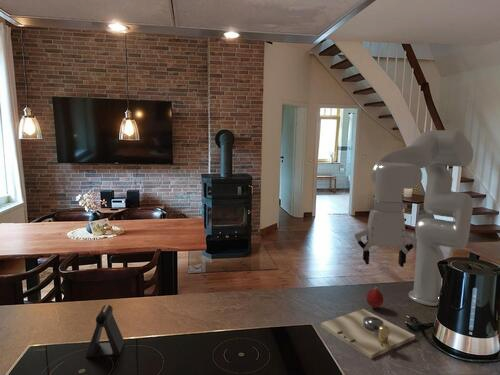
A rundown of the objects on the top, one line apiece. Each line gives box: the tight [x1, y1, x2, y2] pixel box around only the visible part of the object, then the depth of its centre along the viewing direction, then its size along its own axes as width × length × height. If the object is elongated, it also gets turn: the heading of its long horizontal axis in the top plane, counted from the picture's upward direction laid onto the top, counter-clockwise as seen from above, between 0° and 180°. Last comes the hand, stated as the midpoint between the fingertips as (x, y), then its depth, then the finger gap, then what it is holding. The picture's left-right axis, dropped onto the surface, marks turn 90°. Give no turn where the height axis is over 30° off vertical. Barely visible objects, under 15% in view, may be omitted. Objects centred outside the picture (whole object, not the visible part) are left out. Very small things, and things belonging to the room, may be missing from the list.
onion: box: [365, 286, 385, 309], centre depth 127 cm, size 6×6×8 cm
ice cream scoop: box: [363, 317, 389, 348], centre depth 106 cm, size 16×6×5 cm, turn 176°
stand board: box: [320, 308, 416, 360], centre depth 110 cm, size 20×20×2 cm
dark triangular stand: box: [85, 304, 125, 358], centre depth 99 cm, size 9×6×12 cm, turn 98°
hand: (383, 264), depth 103 cm, fingers open, 9 cm apart
